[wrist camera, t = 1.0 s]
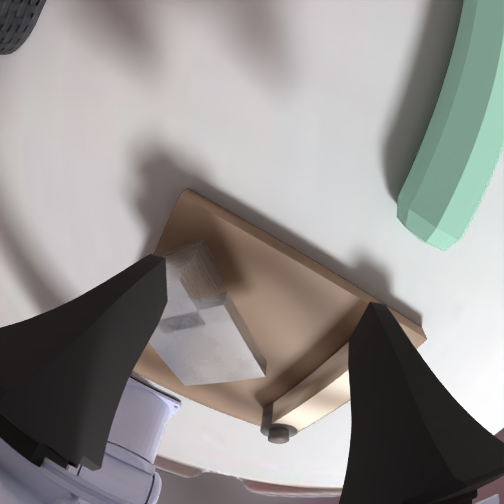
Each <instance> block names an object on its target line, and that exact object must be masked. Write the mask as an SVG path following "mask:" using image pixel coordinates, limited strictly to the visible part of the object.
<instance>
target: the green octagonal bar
mask: <svg viewBox="0 0 504 504" xmlns="http://www.w3.org/2000/svg"><path fill="white" fill-rule="evenodd" d="M503 146H504V0H464V2H463V7H462V13H461V18H460V23H459V27H458V32H457V36H456V40H455V44H454V48H453V52H452V56H451V59H450V63H449V66H448V70H447V73H446V76H445V80H444V83H443V86H442V89H441V92H440V95H439V98H438V101H437V104H436V107H435V110H434V113H433V115H432V118H431V121H430V123H429V126H428V129H427V131H426V134H425V136H424V139H423V141H422V144H421V146H420V149H419V151H418V154H417V156H416V158H415V161H414V163H413V165H412V168H411V170H410V172H409V174H408V177H407V179H406V181H405V183H404V185H403V188H402V190H401V192H400V194H399V196H398V202H397V218H398V219H399V220H400V221H401V223H402V224H403V225H404V226H405V227H406V228H407V229H408V230H409V231H410V232H411V233H412V234H414V235H415V236H416V237H417V238H418V239H419V240H421V241H423V242H425V243H428V244H430V245H432V246H434V247H436V248H438V249H440V250H443V251H445V250H447V249H448V248H449V247H451V246H452V245H453V244H455V243H456V242H457V241H459V240H460V239H461V238H462V237H463V235H464V233H465V232H466V230H467V228H468V226H469V224H470V222H471V220H472V218H473V216H474V214H475V212H476V210H477V208H478V206H479V204H480V202H481V200H482V198H483V196H484V193H485V191H486V189H487V187H488V184H489V182H490V180H491V177H492V175H493V173H494V170H495V168H496V165H497V162H498V160H499V157H500V154H501V152H502V149H503Z"/></svg>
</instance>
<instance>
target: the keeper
mask: <svg viewBox="0 0 504 504" xmlns="http://www.w3.org/2000/svg"><path fill="white" fill-rule="evenodd" d="M162 257H164V258H166V276H167V295H168V302H167V304H166V307H165V309H164V312H163V314H162V317H161V319H160V321H159V324H158V326H157V327H156V329H155V331H154V333H153V335H152V336H151V338H150V340H149V343H150V344H151V346H152V347H153V348H154V349H155V351H156V352H157V353H158V355H159V356H160V357H161V358H162V359H163V361H164V362H165V363H166V364H167V366H168V367H169V368H170V369H171V370H172V371H173V373H174V374H175V375H176V376H177V377H178V378H179V380H180V381H181V382H182V383H183V384H184V385H185V386H189V385H202V384H213V383H222V382H231V381H239V380H246V379H254V378H260V377H266V369H267V361H266V359H265V358H264V356H263V354H262V352H261V351H260V349H259V347H258V345H257V343H256V342H255V340H254V338H253V336H252V334H251V333H250V331H249V329H248V327H247V325H246V323H245V322H244V320H243V318H242V316H241V314H240V312H239V311H238V309H237V307H236V305H235V303H234V301H233V299H232V298H231V296H230V294H229V292H228V291H226V292H222V293H218V292H219V289H220V286H221V284H222V281H223V278H224V277H223V275H222V273H221V271H220V269H219V267H218V265H217V263H216V261H215V260H214V258H213V256H212V254H211V252H210V250H209V248H208V246H207V244H206V242H205V240H204V239H202V240H199V241H196V242H193V243H190V244H187V245H185V246H182V247H179V248H176V249H173V250H171V251H168V252H166V253H165V254H164V255H163V256H162Z"/></svg>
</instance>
